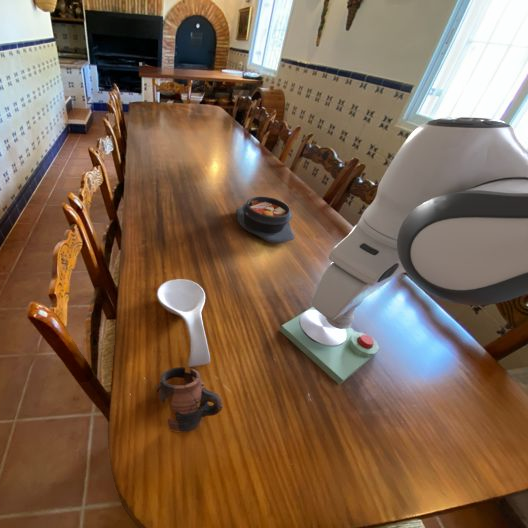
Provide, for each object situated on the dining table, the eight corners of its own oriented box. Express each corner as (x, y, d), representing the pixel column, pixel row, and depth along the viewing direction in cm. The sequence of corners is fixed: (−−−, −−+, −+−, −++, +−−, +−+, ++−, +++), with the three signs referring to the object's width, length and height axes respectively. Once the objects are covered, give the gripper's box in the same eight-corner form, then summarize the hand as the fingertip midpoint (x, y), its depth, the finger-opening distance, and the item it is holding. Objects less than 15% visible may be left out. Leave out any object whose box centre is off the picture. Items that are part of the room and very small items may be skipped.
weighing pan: (354, 334, 66) (355, 332, 66) (327, 354, 62) (328, 353, 61) (316, 305, 72) (317, 304, 72) (289, 322, 68) (290, 320, 68)
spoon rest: (153, 290, 78) (153, 270, 73) (195, 285, 80) (198, 265, 76) (173, 371, 60) (175, 351, 56) (226, 362, 63) (233, 341, 58)
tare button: (372, 345, 65) (376, 341, 64) (366, 350, 64) (369, 346, 63) (361, 337, 66) (364, 332, 65) (355, 342, 65) (358, 337, 64)
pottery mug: (151, 431, 52) (148, 388, 50) (168, 398, 61) (165, 361, 59) (220, 442, 48) (218, 396, 47) (227, 406, 57) (226, 366, 56)
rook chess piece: (338, 308, 54) (358, 275, 49) (356, 327, 51) (380, 294, 45) (318, 313, 52) (336, 280, 47) (335, 333, 49) (358, 300, 44)
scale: (376, 355, 67) (384, 345, 64) (340, 386, 60) (348, 377, 58) (315, 308, 77) (320, 298, 74) (279, 330, 70) (283, 321, 68)
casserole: (223, 213, 112) (227, 192, 107) (264, 207, 118) (270, 187, 113) (259, 251, 95) (266, 229, 89) (306, 242, 100) (315, 221, 95)
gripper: (399, 214, 48) (359, 278, 57) (324, 252, 38) (290, 321, 47) (442, 234, 44) (392, 298, 53) (371, 282, 34) (324, 351, 43)
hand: (344, 310), depth 50 cm, fingers closed on rook chess piece, 3 cm apart
